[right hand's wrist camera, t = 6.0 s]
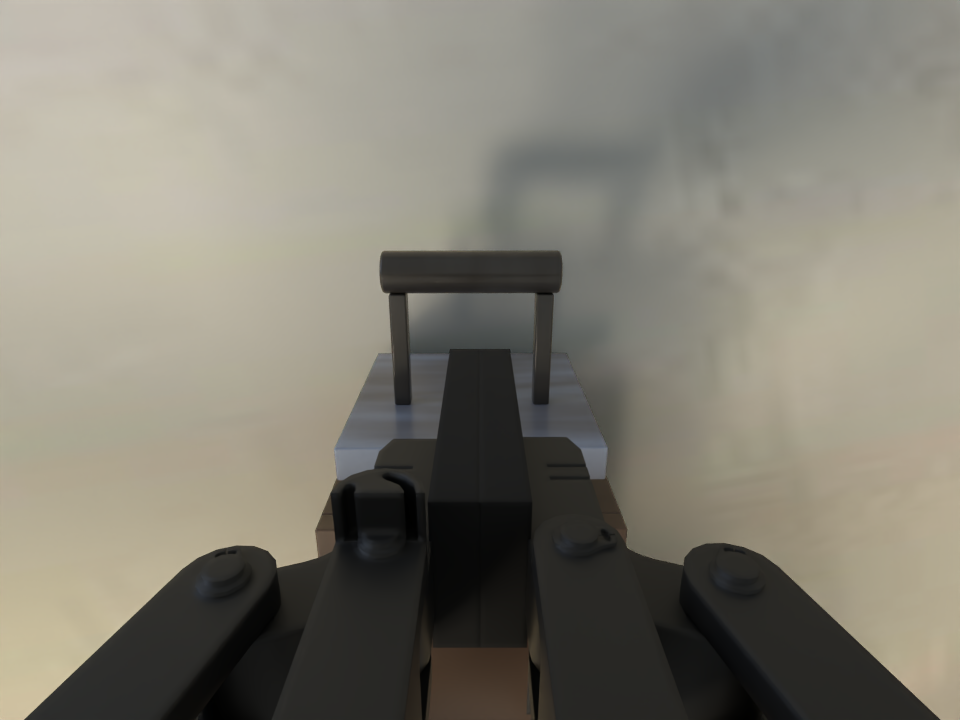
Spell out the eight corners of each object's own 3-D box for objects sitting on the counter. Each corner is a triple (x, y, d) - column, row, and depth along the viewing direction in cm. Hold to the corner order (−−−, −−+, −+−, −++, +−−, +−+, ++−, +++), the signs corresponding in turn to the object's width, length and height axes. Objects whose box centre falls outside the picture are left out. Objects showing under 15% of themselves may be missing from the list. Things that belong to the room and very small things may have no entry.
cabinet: (371, 392, 28) (314, 530, 18) (573, 392, 28) (627, 528, 18) (393, 690, 35) (360, 910, 25) (555, 689, 35) (587, 908, 25)
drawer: (369, 229, 25) (316, 272, 16) (573, 229, 25) (624, 271, 16) (398, 659, 33) (371, 833, 25) (549, 657, 33) (574, 831, 25)
